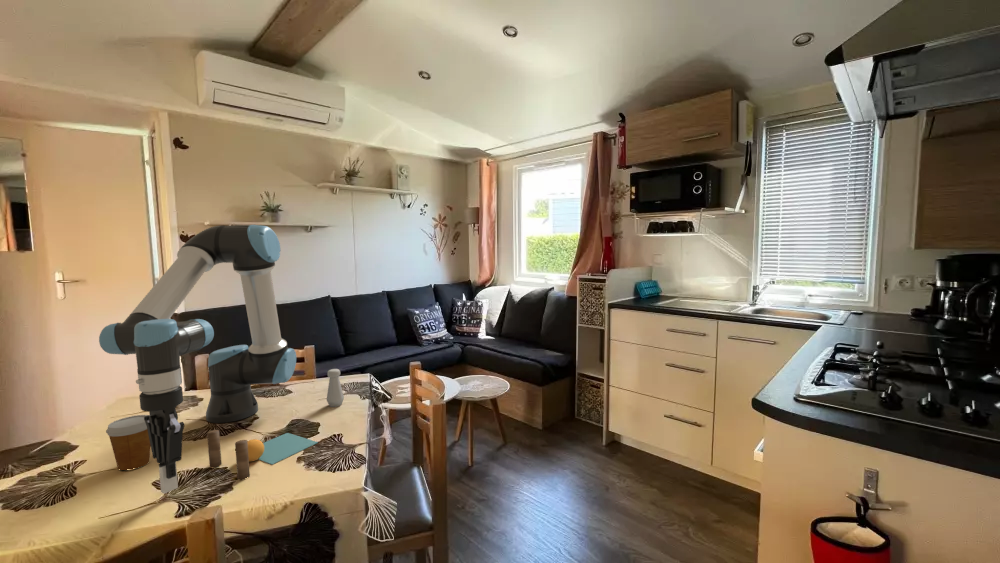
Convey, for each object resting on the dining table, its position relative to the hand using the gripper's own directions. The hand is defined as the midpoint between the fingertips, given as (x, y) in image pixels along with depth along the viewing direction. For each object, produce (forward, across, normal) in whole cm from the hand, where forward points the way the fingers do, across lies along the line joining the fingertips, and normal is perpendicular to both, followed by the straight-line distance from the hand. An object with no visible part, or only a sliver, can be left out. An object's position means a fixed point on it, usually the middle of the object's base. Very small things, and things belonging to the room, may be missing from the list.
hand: (169, 489), depth 97 cm
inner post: (+2, -6, +13) cm, 15 cm away
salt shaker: (+2, -13, +57) cm, 59 cm away
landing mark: (+2, 0, +27) cm, 27 cm away
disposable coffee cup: (+2, -26, +3) cm, 26 cm away
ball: (-1, 0, +19) cm, 19 cm away
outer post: (+2, +6, +13) cm, 15 cm away
